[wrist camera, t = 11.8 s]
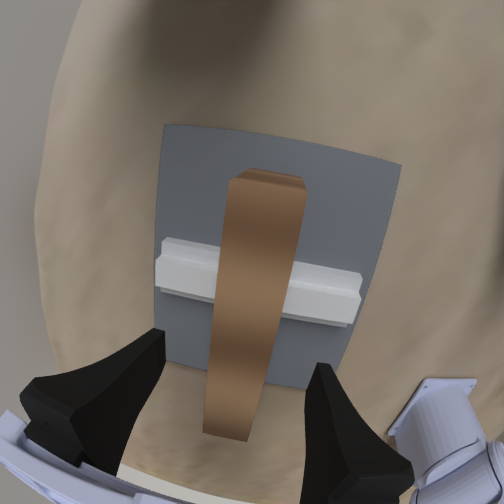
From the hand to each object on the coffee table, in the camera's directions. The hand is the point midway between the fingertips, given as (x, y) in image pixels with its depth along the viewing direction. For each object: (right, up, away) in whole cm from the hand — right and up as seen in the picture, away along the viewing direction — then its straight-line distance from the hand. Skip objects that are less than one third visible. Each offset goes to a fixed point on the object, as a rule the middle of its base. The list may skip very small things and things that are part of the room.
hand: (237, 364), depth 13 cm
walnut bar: (+1, +2, +6) cm, 7 cm away
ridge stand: (+1, +3, +9) cm, 10 cm away
